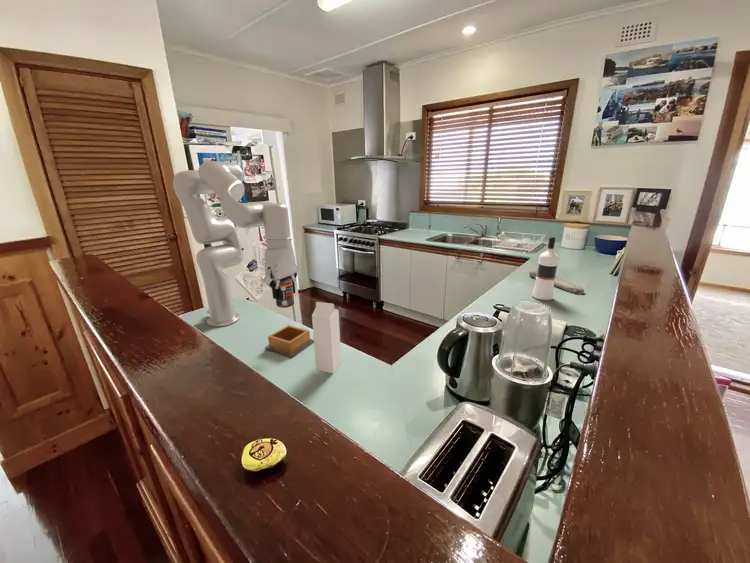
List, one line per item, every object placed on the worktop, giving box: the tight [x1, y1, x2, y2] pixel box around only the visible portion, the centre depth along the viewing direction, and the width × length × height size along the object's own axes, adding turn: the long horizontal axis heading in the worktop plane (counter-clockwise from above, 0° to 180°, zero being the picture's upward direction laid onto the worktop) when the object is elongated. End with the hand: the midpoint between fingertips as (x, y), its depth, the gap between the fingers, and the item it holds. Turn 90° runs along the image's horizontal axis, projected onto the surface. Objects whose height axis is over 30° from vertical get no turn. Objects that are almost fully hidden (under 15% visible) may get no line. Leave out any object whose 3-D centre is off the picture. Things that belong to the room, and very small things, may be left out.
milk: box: [311, 301, 342, 374], centre depth 96 cm, size 6×6×22 cm
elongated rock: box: [528, 270, 585, 295], centre depth 173 cm, size 35×5×10 cm
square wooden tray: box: [265, 324, 314, 359], centre depth 111 cm, size 12×12×5 cm
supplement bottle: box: [274, 276, 295, 309], centre depth 105 cm, size 6×6×11 cm
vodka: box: [531, 236, 560, 301], centre depth 149 cm, size 9×9×30 cm
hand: (284, 295), depth 105 cm, fingers closed on supplement bottle, 5 cm apart
